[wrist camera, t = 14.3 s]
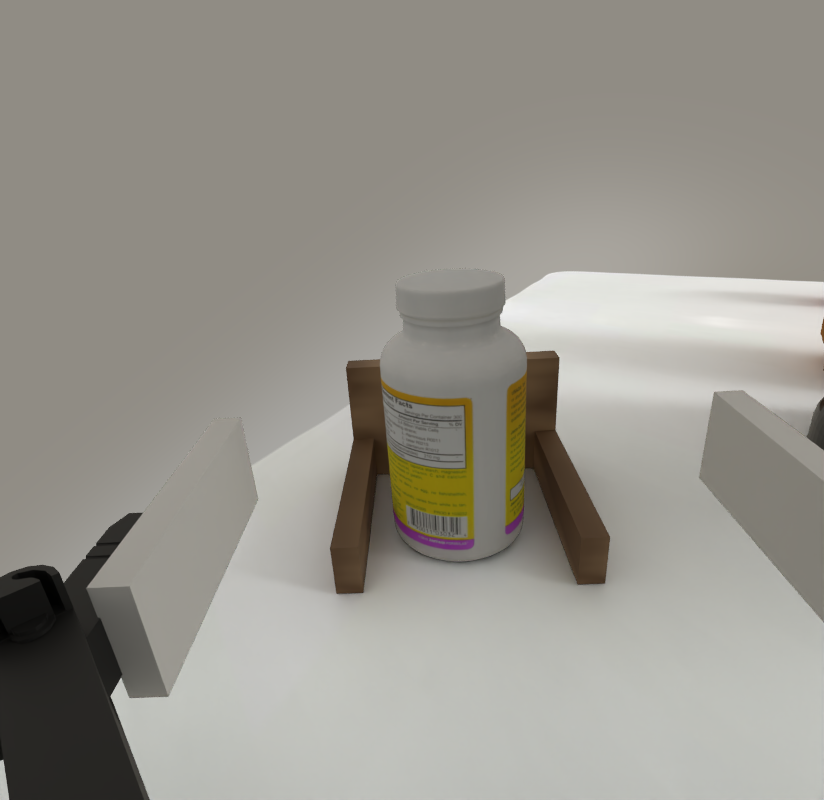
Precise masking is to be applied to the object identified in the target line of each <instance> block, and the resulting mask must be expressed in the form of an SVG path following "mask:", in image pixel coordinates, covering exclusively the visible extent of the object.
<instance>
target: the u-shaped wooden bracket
mask: <svg viewBox="0 0 824 800" xmlns="http://www.w3.org/2000/svg"><path fill="white" fill-rule="evenodd" d="M526 355H527V382H526V425H525V468H534V471H535V473H536V476H537V479H538V481H539V484H540V487H541V489H542V492H543V494H544V497H545V500H546V502H547V505H548V508H549V510H550V513H551V516H552V518H553V521H554V523H555V526H556V529H557V531H558V534H559V537H560V539H561V542H562V545H563V547H564V550H565V552H566V555H567V558H568V560H569V563H570V566H571V568H572V571H573V574H574V576H575V579H576V581H577V584H599V583H605V578H606V569H607V560H608V551H609V542H610V536H609V534H608V532H607V530H606V528H605V526H604V524H603V522H602V520H601V518H600V516H599V515H598V513H597V511H596V509H595V507H594V505H593V503H592V501H591V499H590V497H589V495H588V493H587V491H586V489H585V487H584V485H583V483H582V481H581V479H580V477H579V475H578V473H577V472H576V470H575V468H574V466H573V464H572V462H571V460H570V458H569V456H568V454H567V452H566V450H565V448H564V446H563V444H562V442H561V440H560V438H559V436H558V434H557V432H556V430H555V426H556V408H557V391H558V373H559V357H558V355H557V354H556V352H555V351H540V352H526ZM346 372H347V381H348V391H349V399H350V409H351V418H352V427H353V437H354V441H353V445H352V450H351V454H350V459H349V464H348V468H347V473H346V478H345V482H344V487H343V491H342V496H341V501H340V505H339V510H338V515H337V519H336V524H335V528H334V533H333V538H332V542H331V547H330V551H331V558H332V565H333V572H334V579H335V586H336V593H337V594H338V593H363V591H364V582H365V574H366V565H367V557H368V549H369V540H370V532H371V523H372V515H373V506H374V498H375V490H376V481H377V475H379V474H390V471H389V458H388V448H387V436H386V426H385V414H384V404H383V394H382V385H381V372H380V359H379V360H360V361H348V364H347V367H346Z"/></svg>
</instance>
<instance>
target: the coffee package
mask: <svg viewBox="0 0 824 800" xmlns="http://www.w3.org/2000/svg"><path fill="white" fill-rule="evenodd" d="M821 335H822V340H823V343H824V319H823V324H822V329H821ZM823 370H824V369H823Z"/></svg>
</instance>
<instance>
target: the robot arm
mask: <svg viewBox="0 0 824 800" xmlns="http://www.w3.org/2000/svg"><path fill="white" fill-rule="evenodd" d="M699 478H700V479H701V481H702V482H703V483H704V484H705V485H706V486H707V488H708V489H709V490H710V491H711V492H712V493H713V495H714V496H715V497H716V498H717V499H718V500H719V501H720V503H721V504H722V505H723V506H724V507H725V508H726V510H727V511H728V512H729V513H730V514H731V515H732V517H733V518H734V519H735V520H736V521H737V522H738V524H739V525H740V526H741V527H742V528H743V529H744V530H745V532H746V533H747V534H748V535H749V536H750V537H751V539H752V540H753V541H754V542H755V543H756V544H757V546H758V547H759V548H760V549H761V550H762V551H763V553H764V554H765V555H766V556H767V557H768V558H769V559H770V561H771V562H772V563H773V564H774V565H775V566H776V568H777V569H778V570H779V571H780V572H781V573H782V575H783V576H784V577H785V578H786V579H787V580H788V582H789V583H790V584H791V585H792V586H793V587H794V588H795V590H796V591H797V592H798V593H799V594H800V595H801V597H802V598H803V599H804V600H805V601H806V602H807V604H808V605H809V606H810V607H811V608H812V609H813V611H814V612H815V613H816V614H817V615H818V616H819V617H820V619H821V620H822V621H823V622H824V397H823V398H822V400H821V401H820V402H819V403H818V405H817V407H816V409H815V411H814V413H813V417H812V421H811V424H810V428H809V432H808V436H807V438H806V437H805V436H804V435H802V434H801V433H800V432H798V431H797V430H796V429H794V428H793V427H791V426H790V425H789V424H787V423H786V422H785V421H783V420H782V419H781V418H779V417H778V416H777V415H775V414H774V413H772V412H771V411H770V410H768V409H767V408H766V407H764V406H763V405H762V404H760V403H759V402H758V401H756V400H755V399H753V398H752V397H751V396H749V395H748V394H747V393H745V392H744V391H743V390H742V391H723V392H714V395H713V401H712V407H711V412H710V418H709V424H708V430H707V435H706V441H705V447H704V452H703V458H702V464H701V470H700V475H699ZM257 501H258V496H257V491H256V486H255V481H254V477H253V472H252V467H251V463H250V458H249V453H248V448H247V444H246V439H245V434H244V429H243V425H242V420H241V417H239V418H223V419H214V420H213V421H212V422H211V424H210V425H209V426H208V428H207V429H206V430H205V432H204V433H203V434H202V436H201V437H200V438H199V440H198V441H197V442H196V444H195V445H194V446H193V448H192V449H191V450H190V452H189V453H188V454H187V456H186V457H185V458H184V460H183V461H182V462H181V464H180V465H179V466H178V468H177V469H176V470H175V471H174V473H173V474H172V475H171V477H170V478H169V479H168V481H167V482H166V483H165V485H164V486H163V487H162V489H161V490H160V491H159V493H158V494H157V495H156V497H155V498H154V499H153V501H152V502H151V503H150V505H149V506H148V507H147V508H146V510H145V511H144V512H143V513H129V514H127V515H126V516H125V517H124V518H122V519H120V520H119V521H118V522H116V523H115V524H113V525H112V526H111V527H109V528H108V530H107V531H106V532H105V534H104V535H103V536H102V537H101V538H100V539H99V541H98V542H97V543H96V546H94V547H93V548H92V549H91V550H90V552H89V553H88V554H87V555H86V559H83V560H82V561H81V563H80V564H79V565H78V566H77V568H76V569H75V570H74V571H73V572H72V574H71V575H70V576H69V577H68V579H67V580H66V581H65V582H64V583H63V581H62V578H61V576H60V573H59V572H58V571H57V570H56V569H55V568H54V567H51V566H46V565H39V566H38V565H37V566H29V567H25V568H22V569H19V570H16V571H13V572H10V573H8V574H6V575H4V576H2V577H0V760H3V759H4V766H5V773H6V779H7V786H8V793H9V800H150V799H149V797H148V794H147V791H146V789H145V786H144V783H143V781H142V778H141V776H140V773H139V770H138V768H137V765H136V762H135V760H134V757H133V754H132V752H131V749H130V746H129V744H128V741H127V738H126V736H125V733H124V730H123V728H122V725H121V722H120V720H119V717H118V714H117V712H116V709H115V706H114V704H113V702H112V699H111V697H110V696H111V694H112V692H113V691H114V689H115V687H116V685H117V683H118V682H119V680H120V678H122V680H123V683H124V685H125V688H126V690H127V693H128V696H129V698H145V697H169V694H170V692H171V690H172V688H173V686H174V683H175V681H176V679H177V677H178V675H179V672H180V670H181V668H182V666H183V664H184V661H185V659H186V657H187V655H188V653H189V650H190V648H191V646H192V644H193V642H194V639H195V637H196V635H197V633H198V631H199V628H200V626H201V624H202V622H203V620H204V617H205V615H206V613H207V611H208V609H209V606H210V604H211V602H212V600H213V598H214V595H215V593H216V591H217V589H218V587H219V584H220V582H221V580H222V578H223V576H224V573H225V571H226V569H227V567H228V565H229V562H230V560H231V558H232V556H233V554H234V551H235V549H236V547H237V545H238V543H239V540H240V538H241V536H242V534H243V532H244V529H245V527H246V525H247V523H248V521H249V518H250V516H251V514H252V512H253V510H254V507H255V505H256V503H257Z"/></svg>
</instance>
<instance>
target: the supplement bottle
mask: <svg viewBox="0 0 824 800" xmlns="http://www.w3.org/2000/svg"><path fill="white" fill-rule="evenodd" d="M395 286H396V308H397V310H398V311H399V312H400V317H401V318H402V319H403V331H401V332H399V333H397V334H396V335H395V336H393V337H392V338H391V339H390V340H389V341H388V343H387V344H386V345H385V347H384V349H383V351H382V354H381V358H380V372H381V385H382V394H383V404H384V414H385V426H386V436H387V448H388V458H389V471H390V479H391V490H392V501H393V512H394V518H395V524H396V528H397V531H398V533H399V534H400V536H401V537H402V538H403V540H404V541H405V542H406V543H407V544H408V545H409V546H411V547H412V548H413V549H415V550H416V551H418V552H420V553H422V554H424V555H426V556H428V557H432V558H435V559H439V560H445V561H456V562H460V561H472V560H477V559H482V558H485V557H488V556H491V555H493V554H496V553H498V552H500V551H502V550H503V549H505V548H506V547H508V546H509V545H510V544H511V543H512V542H513V541H514V540H515V539H516V537H517V536H518V534H519V532H520V530H521V527H522V524H523V512H524V470H525V425H526V382H527V355H526V350H525V347H524V345H523V343H522V342H521V340H520V339H519V337H518V336H517V335H516V334H514V333H513V332H512V331H510V330H509V329H507V328H505V327H502V326H501V325H500V314H501V313H502V311H503V306H504V305H505V278H504V276H503V275H502V274H500V273H497V272H494V271H487V270H479V269H442V270H441V269H440V270H431V271H424V272H418V273H414V274H411V275H407V276H404V277H402V278H400V279H398V281H397V282H396V285H395Z"/></svg>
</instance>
